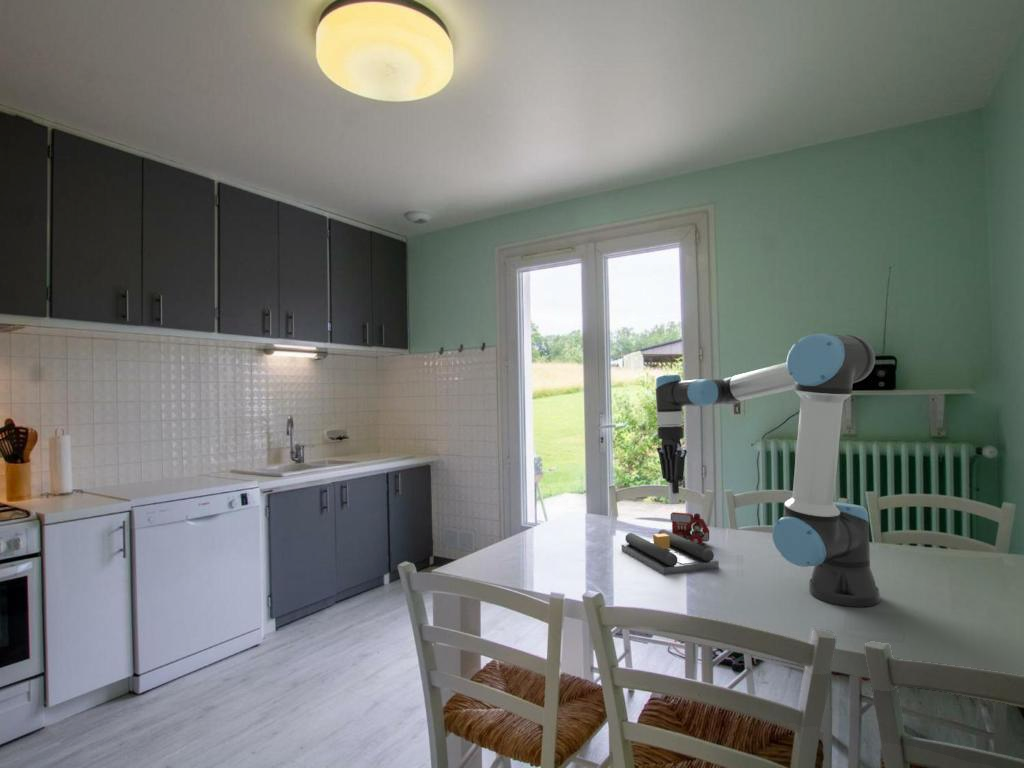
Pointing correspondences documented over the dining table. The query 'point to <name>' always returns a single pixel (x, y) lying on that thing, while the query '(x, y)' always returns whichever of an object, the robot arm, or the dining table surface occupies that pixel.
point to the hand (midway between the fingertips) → (673, 503)
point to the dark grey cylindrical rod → (689, 546)
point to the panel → (684, 564)
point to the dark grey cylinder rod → (652, 549)
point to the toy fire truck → (689, 527)
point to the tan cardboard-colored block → (662, 540)
